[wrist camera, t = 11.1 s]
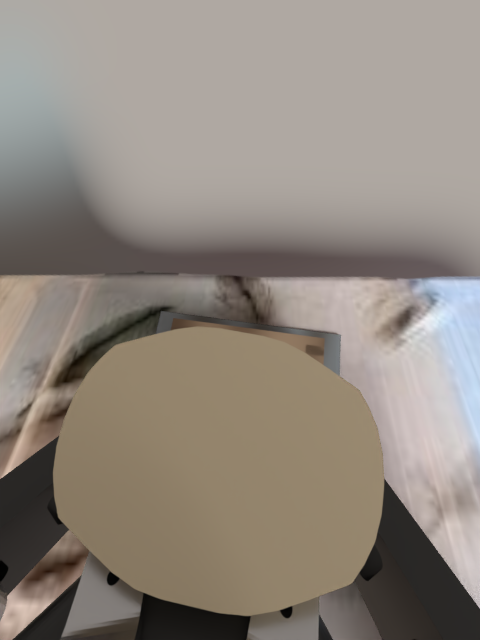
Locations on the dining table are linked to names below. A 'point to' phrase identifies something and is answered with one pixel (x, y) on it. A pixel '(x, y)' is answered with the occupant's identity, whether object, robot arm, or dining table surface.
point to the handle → (221, 471)
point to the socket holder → (310, 342)
